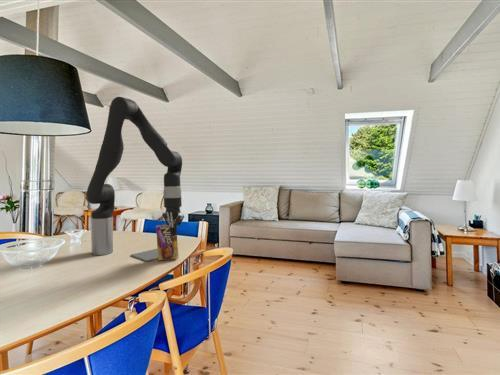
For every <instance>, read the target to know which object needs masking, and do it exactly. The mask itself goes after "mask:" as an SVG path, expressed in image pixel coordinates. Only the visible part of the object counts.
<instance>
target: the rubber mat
mask: <svg viewBox="0 0 500 375" xmlns="http://www.w3.org/2000/svg"><path fill="white" fill-rule="evenodd" d="M130 257H133V258H135V259H138V260H140V261H144V262H146V263H149V262H153V261H156V260H158V248H154V249H150V250H145V251H141V252H137V253H132V254H130Z"/></svg>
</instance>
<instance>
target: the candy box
mask: <svg viewBox="0 0 500 375" xmlns="http://www.w3.org/2000/svg"><path fill="white" fill-rule="evenodd" d="M155 229H156V245H157V248H158V259H157V260H158V261H163V260H172V259H177V258H179V247H178V246H179V244H178V234H177V235H175V236H172V235H171V233H170V227H169V225H167V224H162V225H161V224H160V225H156V226H155ZM157 248H156V249H157Z"/></svg>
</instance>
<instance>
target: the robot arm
mask: <svg viewBox="0 0 500 375" xmlns="http://www.w3.org/2000/svg"><path fill="white" fill-rule="evenodd" d="M125 120H126V121H130V122H131V123H132V124H133V125H134V126H135V127H136V128H137V129H138V130H139V133H140V135H141V138H142V140H143V141H144V143H145V144H147V146H148V147H149V149H151V151H153V152H154V154H155V156H156V158H157V160H158V161H159V162H160V164H161V165H162V166H164V167H166V168H167V169H166V170H167V171H166V173H164V175H163V207H164V208H165V213H162V218H163V219H164V221H165V223H166V224H165V225H169V227H170V233H171V235H172V236H175V235H177V236H178V228H177V227H180V226H181V224H182V223H183V220H184V218H185V215H184V214H182V212H181V209H180V208H181V207H182V205H183V204H182V190H181V189H182V188H181V174H182V169H183V157H182V155H181V154H180V153H179V152H178V151H173V150H171V149H170V148H169V147H168V143H167V140H165V138H164V137H163V136H162V135H161V133H159V132H158V131H157V130H156V128H155V127H154V126H153V125H152V124H151V123H150V122H149V120H148V118H147V116H145V114H144V112H143V111H142V109H141V108H140V106H139V105H138V103H136V101H135V100H134V99H133V100H132V99H131V98H127V97H123V96H116V97H114V98H113V99H112V100H111V102H110V106H109V111H108V117H107V123H106V127H105V132H104V135H103V140H102V143H101V146H100V150H99V154H98V158H97V161H96V165H95V169H94V171H93V175H92V177H91V178H90V181H89V184H88V187H87V189H86V199H87V202H88V203H90V204H92V205H98V204H99V206H98V207H97V208H96V209H94V210H92V211H91V214H90V224H91V225H90V226H91V228H90V229H91V230H90V232H91V237H90V238H91V241H90V242H91V254H92V255H94V256H104V255H109V254H111V253H113V252H114V231H113V230H114V226H113V225H114V222H113V219H114V217H113V214H114V211H115V202H116V201H115V199H116V197H115V196H116V194H115V189H114V187H113V185H111V184H109V183H106V181H107V179H108V177H109V175H110V174H112V172H113V171H114V170H115V169H116V168H117V167H118V165H119V164H120V162H121V160H122V157H123V153H124V148H125V147H124V141H123V136H122V130H123V125H124V122H125Z"/></svg>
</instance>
